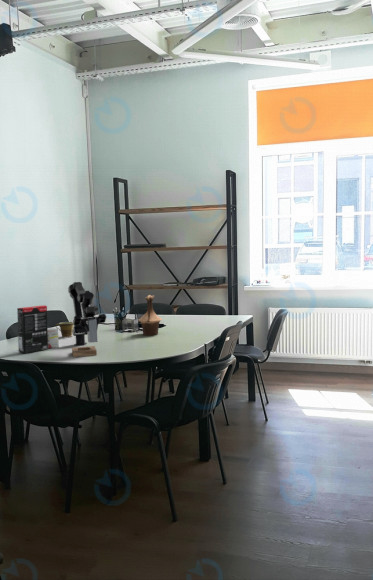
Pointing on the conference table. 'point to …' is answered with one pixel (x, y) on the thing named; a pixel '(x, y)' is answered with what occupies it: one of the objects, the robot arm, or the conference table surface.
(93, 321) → the grey rectangular block
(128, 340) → the conference table surface
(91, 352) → the post foot
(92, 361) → the conference table surface
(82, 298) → the robot arm
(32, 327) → the graphics card box
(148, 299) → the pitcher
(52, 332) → the ink box
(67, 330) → the ceramic cup
